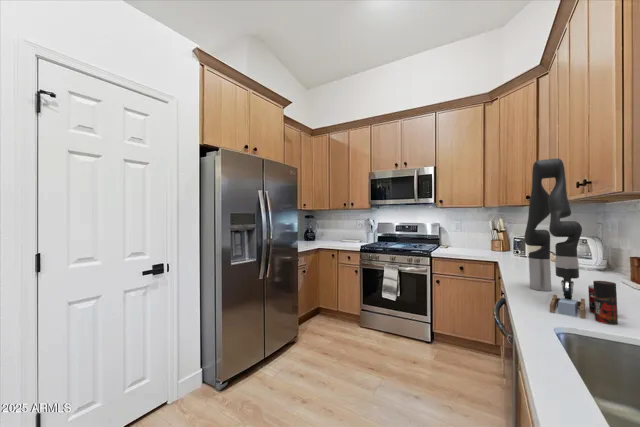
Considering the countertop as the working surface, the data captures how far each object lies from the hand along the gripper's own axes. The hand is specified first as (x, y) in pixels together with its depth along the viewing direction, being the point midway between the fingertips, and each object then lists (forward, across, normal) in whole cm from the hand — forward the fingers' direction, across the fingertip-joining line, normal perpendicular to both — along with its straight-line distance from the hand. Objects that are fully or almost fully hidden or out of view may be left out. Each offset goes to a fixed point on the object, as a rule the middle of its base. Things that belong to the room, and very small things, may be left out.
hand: (568, 305), depth 115 cm
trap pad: (+1, -4, 0) cm, 4 cm away
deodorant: (+2, +10, +11) cm, 15 cm away
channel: (+1, +2, 0) cm, 2 cm away
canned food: (+2, -1, +10) cm, 11 cm away
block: (+1, +7, 0) cm, 7 cm away
